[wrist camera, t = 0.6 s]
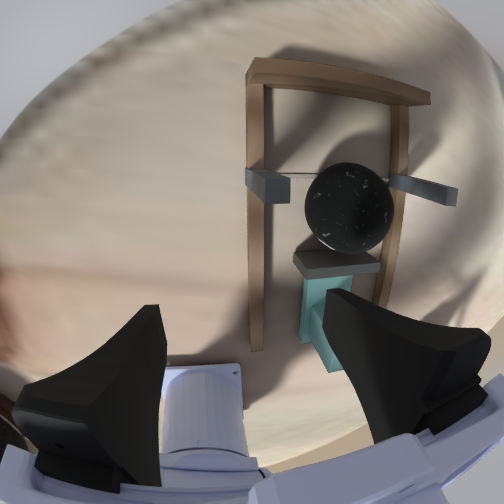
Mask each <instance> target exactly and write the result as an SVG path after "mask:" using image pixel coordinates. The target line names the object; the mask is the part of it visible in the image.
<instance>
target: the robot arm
mask: <svg viewBox="0 0 504 504" xmlns="http://www.w3.org/2000/svg"><path fill="white" fill-rule="evenodd" d="M322 329H323V331H324V334H325V336H326V339H327V341H328V343H329V345H330V347H331V349H332V351H333V352H334V354H335V356H336V357H337V359H338V361H339V362H340V364H341V366H342V367H343V369H344V371H345V372H346V374H347V376H348V377H349V379H350V381H351V383H352V385H353V386H354V389H355V391H356V393H357V396H358V398H359V400H360V403H361V405H362V408H363V410H364V413H365V416H366V418H367V421H368V424H369V427H370V431H371V434H372V437H373V440H374V445H372V446H369V447H366V448H364V449H361V450H358V451H355V452H352V453H349V454H346V455H343V456H339V457H336V458H332V459H329V460H325V461H322V462H318V463H314V464H310V465H306V466H301V467H297V468H293V469H290V470H287V471H283V472H279V473H275V474H272V473H271V472H270V471H269V470H268V469H267V468H258V463H257V458H256V457H249V452H248V446H247V441H246V436H245V430H244V424H243V419H244V417H243V400H242V382H241V367H240V364H238V363H229V364H216V365H200V366H177V367H166V360H167V340H166V336H165V331H164V327H163V322H162V318H161V313H160V308H159V304H156V305H144V306H143V307H142V308H141V309H140V310H139V311H138V312H137V313H136V314H135V315H134V316H133V317H132V318H131V319H130V320H129V321H128V322H127V323H126V324H125V325H124V326H123V327H122V328H121V329H120V330H119V331H118V332H117V333H116V334H115V335H114V336H113V337H112V338H110V339H109V340H108V341H107V342H106V343H105V344H104V345H102V346H101V347H100V348H99V349H97V350H96V351H94V352H93V353H92V354H90V355H89V356H87V357H86V358H84V359H83V360H81V361H79V362H78V363H76V364H74V365H73V366H71V367H69V368H67V369H65V370H63V371H61V372H59V373H57V374H55V375H52V376H50V377H48V378H45V379H42V380H39V381H36V382H34V383H31V384H27V385H24V387H23V389H22V391H21V393H20V395H19V397H18V399H17V401H16V403H15V405H14V407H13V409H12V417H13V419H14V421H15V424H16V425H17V426H18V428H19V429H20V430H21V431H22V432H23V434H24V435H25V436H26V437H27V438H28V439H29V440H30V441H31V442H32V443H33V444H34V446H35V447H36V448H37V449H38V450H39V451H38V455H37V457H36V456H35V455H33V454H32V453H30V452H28V451H25V450H23V449H20V448H17V447H15V446H12V445H10V444H7V447H6V449H5V452H4V455H3V458H2V461H1V464H0V501H1V502H2V503H4V504H449V502H448V501H447V499H446V497H445V496H444V494H443V492H442V489H443V488H445V487H446V486H447V485H449V484H450V483H452V482H453V481H455V480H456V479H457V478H458V477H460V476H461V475H462V474H464V473H465V472H466V471H467V470H469V469H470V468H471V467H473V466H474V465H475V464H476V463H477V462H478V461H480V460H481V459H482V458H483V457H484V456H486V455H487V454H488V453H489V452H490V451H491V450H492V449H493V448H494V447H496V446H497V445H498V444H499V443H500V442H501V441H502V440H503V439H504V377H503V375H502V374H498V375H497V376H496V377H495V378H493V379H492V380H491V381H489V382H488V383H487V384H486V385H485V386H484V387H483V388H482V387H481V386H480V385H479V383H480V382H481V378H480V377H479V376H478V375H477V374H478V372H479V371H480V369H481V367H482V365H483V363H484V361H485V360H486V358H487V355H488V353H489V351H490V347H491V338H490V336H488V335H487V334H486V333H485V332H484V331H483V330H481V329H479V328H458V327H448V326H441V325H435V324H431V323H426V322H422V321H418V320H414V319H411V318H408V317H405V316H402V315H399V314H397V313H394V312H392V311H389V310H387V309H384V308H382V307H380V306H378V305H376V304H374V303H371V302H369V301H367V300H365V299H363V298H361V297H359V296H357V295H355V294H353V293H351V292H349V291H346V290H344V289H341V288H333V289H327V291H326V300H325V308H324V315H323V323H322ZM234 371H237V372H234ZM161 392H162V395H163V398H164V401H165V406H164V418H163V433H162V451H161V453H159V437H158V422H159V404H160V398H161Z"/></svg>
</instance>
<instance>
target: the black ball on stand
mask: <svg viewBox="0 0 504 504" xmlns="http://www.w3.org/2000/svg"><path fill="white" fill-rule="evenodd" d="M14 405H15V403H14V402H13V401H12V400H10V399H9V398H7V397H6V396H5V395H3V394H1V393H0V464H1V461H2V458H3V455H4V452H5V449H6V447H7V444H10V445H12V446H15V447H17V448H20V449H23V450H25V451H28V452H29V449H28V446H27V444H26V441H25V440H24V438H23V437H26V436H25V435H24V434H23V432H22V431H21V430H20V429H19V428H18V426H17V425H16V424H15V421H14V419H13V417H12V409H13V407H14ZM26 438H27V437H26Z"/></svg>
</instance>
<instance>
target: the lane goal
mask: <svg viewBox="0 0 504 504" xmlns="http://www.w3.org/2000/svg"><path fill="white" fill-rule="evenodd" d="M263 88H279V89H293V90H304V91H313V92H321V93H329V94H336V95H342V96H348V97H354V98H359V99H365V100H370V101H374V102H379V103H384V104H388V105H391V157H390V173H389V178H381V177H380V178H381V179H382V180H383V181H385V182H388V187H389V190H390V192H391V195H392V198H393V202H394V216H393V221H392V224H391V227H390V229H389V231H388V233H387V235H386V236H385V237H384V239H383V244H382V250H381V257H380V262H381V265H380V270H379V272H378V274H377V280H376V285H375V290H374V295H373V299H372V303H374V304H376V305H378V306H380V307H382V308H384V309H386V306H387V302H388V297H389V293H390V289H391V284H392V280H393V275H394V270H395V265H396V259H397V254H398V248H399V242H400V235H401V228H402V221H403V213H404V204H405V194H406V192H407V193H410V194H413V195H416V196H419V197H422V198H425V199H428V200H431V201H434V202H437V203H440V204H442V205H445V206H456V203H457V194H458V189H457V188H453V187H450V186H446V185H442V184H439V183H435V182H431V181H427V180H423V179H419V178H415V177H411V176H407V167H408V139H409V119H408V107H409V106H420V105H431V101H430V92H428V91H425V90H422V89H419V88H416V87H414V86H411V85H407V84H404V83H401V82H398V81H395V80H391V79H388V78H384V77H381V76H377V75H373V74H369V73H365V72H361V71H356V70H352V69H347V68H342V67H337V66H331V65H325V64H319V63H312V62H305V61H296V60H287V59H275V58H259V57H255V58H254V60H253V62H252V64H251V65H250V67H249V69H248V71H247V73H246V160H247V168H245V185H246V186H247V231H248V290H249V343H250V348H251V352H256V351H263V307H264V204H284V203H290V178H316V177H317V176H318V175H319V174H278V173H275V172H272V171H270V170H267V169H264V98H263Z"/></svg>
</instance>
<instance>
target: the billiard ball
mask: <svg viewBox="0 0 504 504" xmlns="http://www.w3.org/2000/svg"><path fill="white" fill-rule="evenodd" d="M305 216H306V220H307V223H308V225H309V227H310V229H311V231H312V232H313V233H314V235H315V236H316V237H317V238H318V239H319V240H320V241H321V242H322V243H324V244H325V245H326V246H328V247H330V248H331V249H333V250H336V251H338V252H342V253H347V254H358V253H362V252H366V251H368V250H370V249H372V248H373V247H375V246H376V245H378V244H379V243H380V242H381V241H382V240H383V239H384V237H385V236H386V235H387V233H388V231H389V229H390V227H391V224H392V221H393V216H394V202H393V198H392V195H391V192H390V190H389V188H388V186H387V185H386V183H385V182H384V181H383V180H382V179H381V178H380V177H379V176H378V175H377V174H376V173H375V172H373V171H372V170H370V169H368V168H366V167H365V166H362V165H359V164H355V163H339V164H335V165H332V166H330V167H328V168H327V169H325V170H324V171H322V172H321V173H320V174H319V175H318V176H317V177H316V178H315V179H314V181H313V182H312V184H311V186H310V188H309V190H308V192H307V195H306V200H305Z"/></svg>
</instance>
